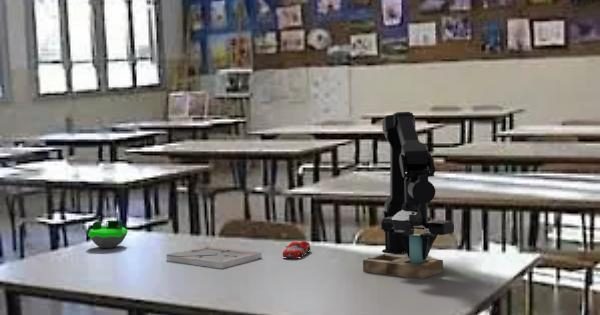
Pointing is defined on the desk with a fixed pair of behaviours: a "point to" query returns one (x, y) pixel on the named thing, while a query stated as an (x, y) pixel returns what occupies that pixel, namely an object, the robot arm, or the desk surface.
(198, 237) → the desk surface
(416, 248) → the teal rounded cylinder
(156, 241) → the desk surface
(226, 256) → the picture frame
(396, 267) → the socket block
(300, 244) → the race car
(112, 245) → the green grey rounded piece
